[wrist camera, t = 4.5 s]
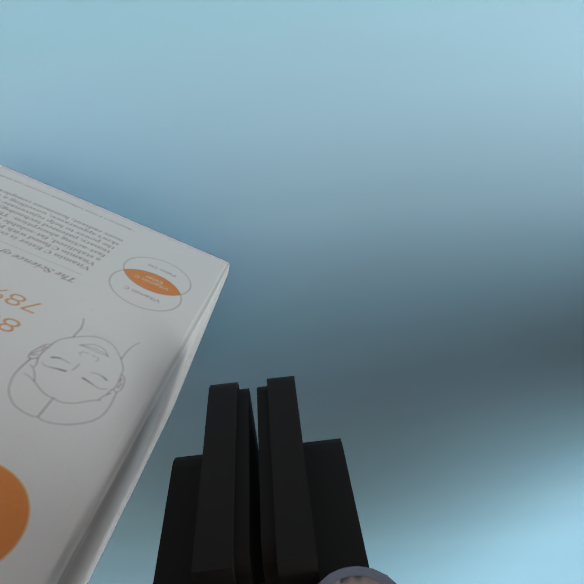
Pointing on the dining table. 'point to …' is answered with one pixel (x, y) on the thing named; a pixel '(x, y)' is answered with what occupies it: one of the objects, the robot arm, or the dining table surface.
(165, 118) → the dining table surface
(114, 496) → the small box
